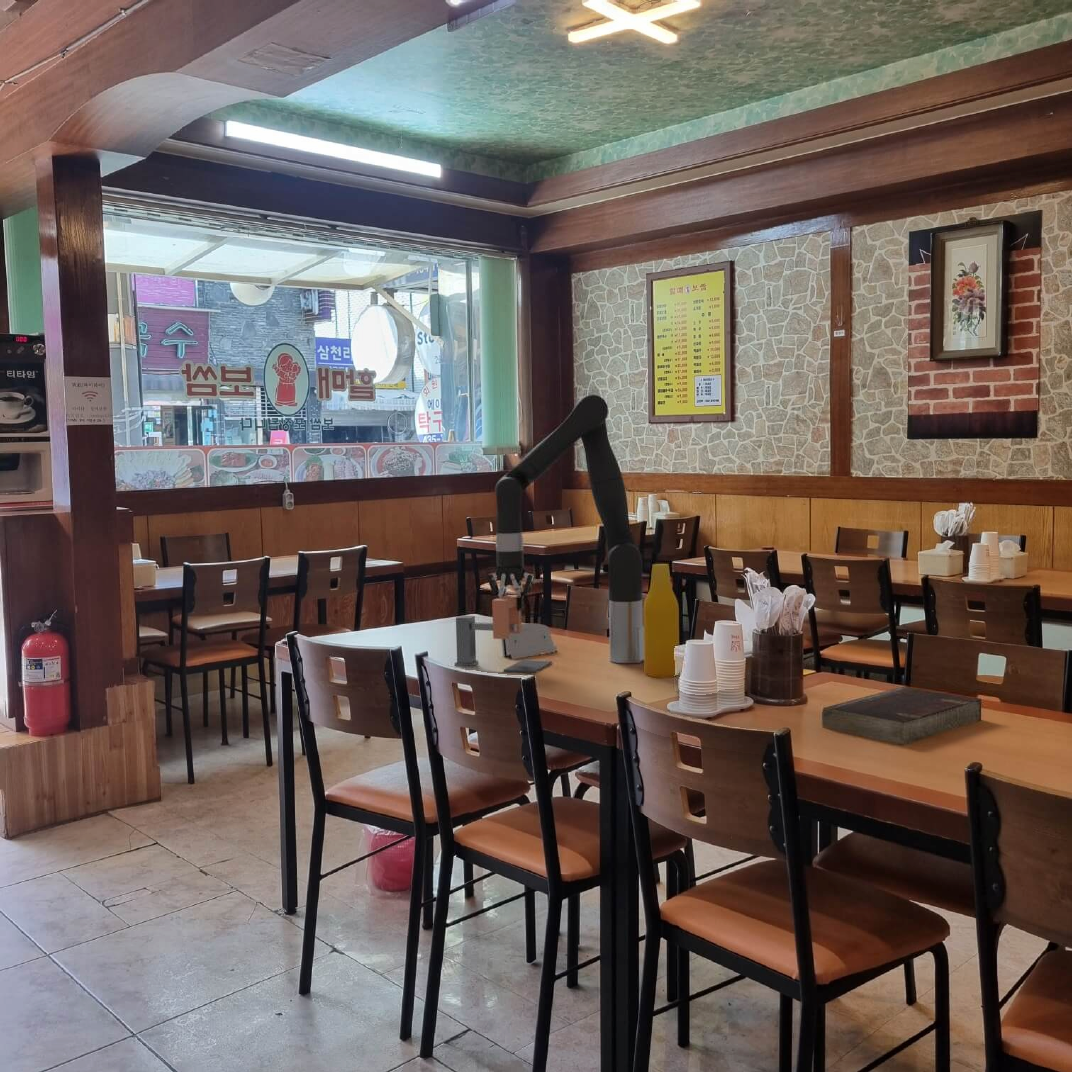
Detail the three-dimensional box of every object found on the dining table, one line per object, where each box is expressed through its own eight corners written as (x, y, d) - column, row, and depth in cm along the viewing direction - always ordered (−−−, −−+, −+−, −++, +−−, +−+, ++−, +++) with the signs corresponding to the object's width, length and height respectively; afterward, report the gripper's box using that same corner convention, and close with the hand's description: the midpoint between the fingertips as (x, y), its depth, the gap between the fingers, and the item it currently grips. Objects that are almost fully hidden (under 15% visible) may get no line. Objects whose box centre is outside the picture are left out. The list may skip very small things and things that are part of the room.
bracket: (519, 665, 290) (518, 617, 289) (513, 668, 285) (511, 619, 284) (462, 662, 296) (460, 615, 295) (454, 665, 291) (453, 617, 290)
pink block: (521, 632, 292) (520, 595, 291) (507, 639, 282) (505, 600, 281) (508, 632, 293) (507, 594, 293) (493, 638, 283) (492, 600, 282)
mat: (552, 663, 291) (552, 661, 291) (534, 673, 278) (534, 671, 278) (522, 662, 294) (522, 660, 294) (503, 671, 281) (503, 669, 281)
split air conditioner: (511, 659, 299) (504, 625, 301) (503, 662, 303) (496, 628, 305) (558, 651, 309) (551, 619, 311) (549, 655, 313) (542, 622, 315)
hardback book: (901, 706, 235) (902, 684, 235) (981, 722, 220) (981, 698, 220) (822, 729, 217) (822, 705, 217) (902, 747, 202) (902, 722, 202)
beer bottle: (678, 678, 268) (677, 566, 266) (642, 678, 270) (640, 566, 267) (680, 671, 277) (679, 562, 275) (646, 670, 279) (644, 562, 276)
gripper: (538, 548, 290) (540, 609, 291) (491, 547, 295) (493, 607, 296) (529, 550, 283) (530, 613, 284) (480, 550, 288) (482, 611, 289)
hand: (511, 610), depth 290 cm, fingers closed on pink block, 4 cm apart
